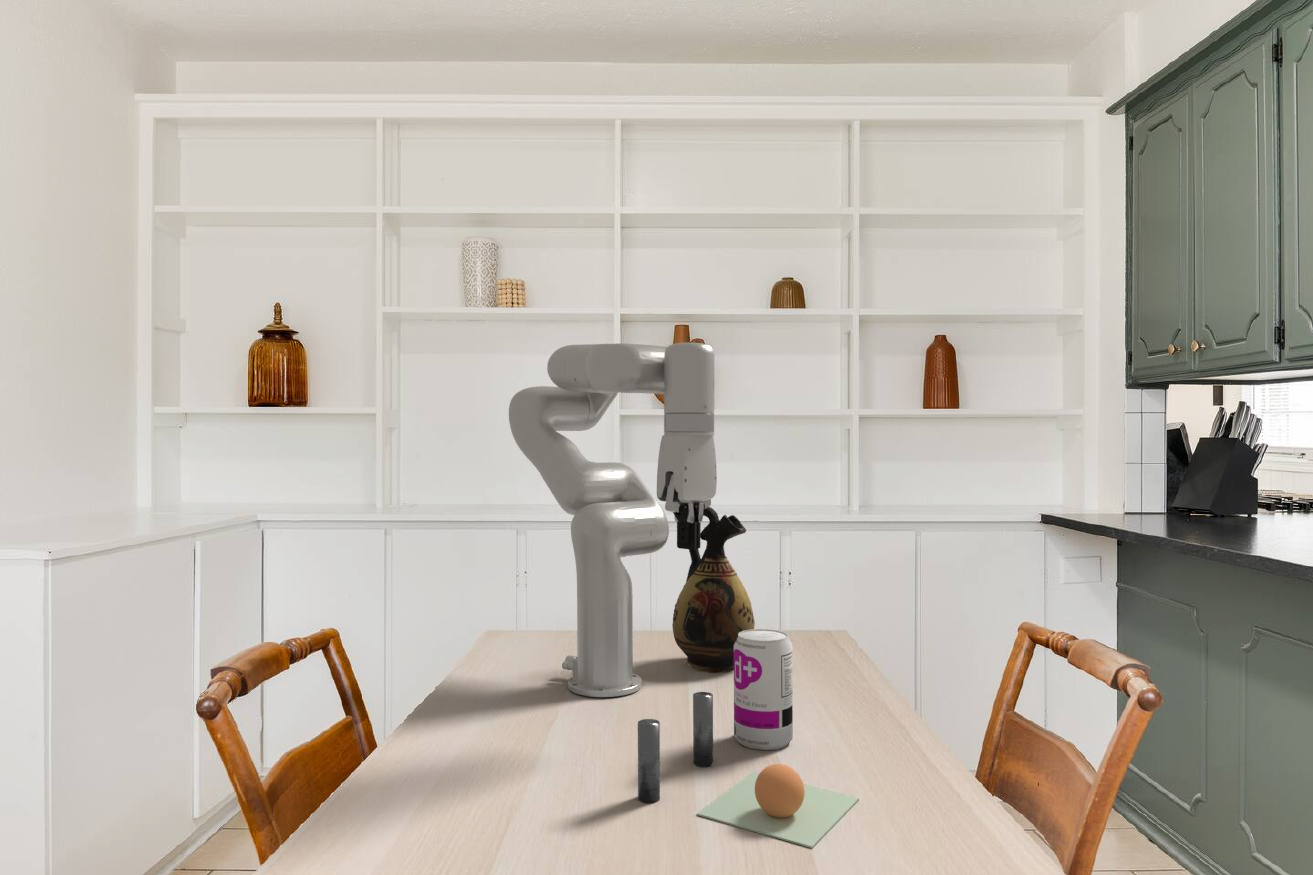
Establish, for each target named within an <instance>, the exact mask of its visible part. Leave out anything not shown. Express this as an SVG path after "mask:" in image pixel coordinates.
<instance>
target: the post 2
mask: <svg viewBox="0 0 1313 875" xmlns="http://www.w3.org/2000/svg"><path fill="white" fill-rule="evenodd" d="M713 710H714V694H713V693H711V692H707V691H696V692H694V693H693V694H692V745H693V746H692V748H693V749H692V751H693V752H692V755H693V756H692V758H693V760H692V761H693V762H692V764H693V765H694V766H696V767H699V768H709V767H711V766H713V765H714V711H713Z"/></svg>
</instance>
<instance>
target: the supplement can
mask: <svg viewBox="0 0 1313 875" xmlns="http://www.w3.org/2000/svg"><path fill="white" fill-rule="evenodd" d="M793 668H794V666H793V643H791V640H790V638H789V635H788V634H787V633H786V632H784V631H782V630H781V631H780V630H777V629H768V628H754V629H752V630H745V631H742V632H739V634H738V638H737V640H736V642H735V644H734V670H733V736H734V738H735V739H736V740H737V741H738V742H739V744H740V745H742V746H744V747H746V748H749V749H752V750H757V751H758V750H759V751H772V750H780V749H783V748H785V747H786V746H788V745H789V743H790V742H792V740H793V738H794V737H793V736H794V735H793V734H794V729H793V728H794V722H793V721H794V719H793V718H794V716H793V715H794V711H793V710H794V709H793V707H794V702H793V701H794V698H793V697H794V696H793V695H794V694H793V693H794V692H793V691H794V690H793V687H794V686H793V684H794V683H793V676H794V675H793V673H794V672H793Z"/></svg>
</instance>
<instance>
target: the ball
mask: <svg viewBox="0 0 1313 875" xmlns="http://www.w3.org/2000/svg"><path fill="white" fill-rule="evenodd" d="M759 773H760V774H759V775H758V777H757V779H756V782H755V796H756V799H757V802H758V804H759V805H760V807H761V808H762V809H763V810H764V811H765V812H766V813H767V814H769V815H771V816H774V817H779V818H784V817H788V816H791V815H793V814H794V813H795V812H797V811H798V809H799V808H800V807H801V805H802V803H803V800H804V793H805V791H804V785H803V784H804V782H803V779H802V778H801V776H800V774H799V773H798V772H797V771H796V770H795V769H793V768H792V767H790V766H788V765H786V764H783V763H782V764H780V763H776V764H770V765H768V766H767V767H764V769H762V770H761V771H760V772H759Z"/></svg>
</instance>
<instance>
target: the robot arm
mask: <svg viewBox="0 0 1313 875" xmlns="http://www.w3.org/2000/svg"><path fill="white" fill-rule="evenodd" d="M546 370H547V374H548V377H549V379H550V380H551V382H552V383H553V384H554V385H555V386H549V385H547V386H545V385H544V386H543V385H540V386H537V385H536V386H531V387H527V388H524V389H521V390H519V391H517V392H515V394H514V395H513V396H512V398H511V400H510V402H509V406H508V422H509V427H510V430H511V434H512V436H513V439H514V442H515V443H516V445H517V446H518V448H519V450H520V451H521V453H522V454H523V455H524V456H525V457H526V458H527V459H528V461H529V462H530V463H531V464H532V465H533V466H534V467H535V468H536V470H537V471H538V473H539V475H540V476H541V479H543V481H544V483H545V484H546V486H547V487H548V489H549V491H550V493H551V494H552V495H553V497H554V499H555V500H556V502H557V503H558V505H559V506H560V508H561V509H562V510H563V511H564V512H565V513H567V514H568V515H570V516H573V517H572V520H571V522H570V523H571V524H570V535H571V536H570V537H571V542H572V547H573V553H574V558H575V559H574V560H575V567H576V568H575V570H576V572H575V573H576V622H577V623H576V625H577V626H576V628H577V630H576V638H577V639H576V642H577V643H576V644H577V645H576V646H577V648H576V652H577V653H576V654H577V656H575V655H570V654H569V655H567V656H566V657H565V659H564V661H563V662H562V663H561V668H562V669H563V670H567V671H571V672H572V677H571V678H569V679H568V682H567V683H568V686H567V687H568V690H570V691H571V692H572V693H574V694H576V695H579V696H583V697H589V698H615V697H622V696H626V695H630V694H633V693H636V692H637V691H640V689H641V688H642V687H643V682H642V678H641V676H639V675H638V674H635V673H634V667H633V666H634V658H633V657H634V653H633V652H634V650H633V649H634V648H633V646H634V640H633V638H634V635H633V634H634V633H633V632H634V631H633V629H634V627H633V623H634V621H633V620H634V619H633V618H634V617H633V616H634V615H633V611H634V610H633V608H634V607H633V604H634V603H633V583H632V579H631V576H630V574H629V572H628V570H627V569H626V567H625V565H624V564H623V562H622V559H621V558H624V557H632V556H639V555H640V556H641V555H647V554H654V553H655V552H658V551H660V550H661V549H662V548H663V547H664V546H665V545H666V543H667V542H668V538H669V535H670V534H669V532H670V527H669V522H668V518H667V515H666V513H665V511H667V512H671V513H673V515H674V517H673V518H674V521H675V522H676V547H677V548H678V549H680V550H682V549H683V550H689V549H690V550H694V549H698V550H699V549H700V548H701V532H702V529H701V527H702V526H701V525H702V524H701V522H702V521H703V518H704V516H703V511H704V509H706V508H707V507H711V506H712V505H711V504H712V499H713V498H714V497H715V496H716V494H717V493H716V492H717V483H718V482H717V481H718V479H717V478H718V477H717V474H718V473H717V457H716V446H715V438H714V436H715V352H714V349H713V347H712V346H711V345H710V344H708V343H707V344H706V343H703V342H678V343H677V342H676V343H671V344H670V345H668V346H665V345H664V346H661V345H654V344H653V345H651V344H639V343H638V344H637V343H593V344H590V343H589V344H585V343H584V344H569V345H568V344H567V345H564V346H561V347H560V348H557V349H556V350H555V351H554V352H553V353H551V355H550V357H549V358H548V360H547V366H546ZM619 393H621V394H625V393H626V394H654V395H663V397H664V398H663V413H664V414H663V435H662V436H661V440H660V443H659V444H660V446H659V452H658V459H657V472H656V473H657V474H656V497H655V496H654V495H653V493H652V491H650V489H649V488H648V486H647V485H646V483H645V482H644V481H643V479H642V478H641V476H639V474H638V473H637V472H636V471H635V470H634V469H633V468H632V467H630V466H629V465H627V464H624V463H621V462H594V461H590V460H588V459H587V458H586V457H585V456H584V455H583V453H582V452H581V451H580V448H578V446H577V445H576V444H575V443H574V442H573V441H571V439H570V438H568V437H566V436H565V435H563V434H561V433H560V432H582V431H588V430H591V429H592V428H594V427H595V426H596V425H597V424H598V423H599V422H600V421H601V419H602V418H603V416H604V415H605V413H606V411H607V410H608V409H609V407H610V406H611V404H612V403H613V402H614V400H615V398H616V397H617V396H618V394H619ZM656 498H657V499H658V500H659V501H661V502H665V505H664V509H665V511H664V509H663V508H662V506H661V504H660V503H659V502H658V500H657V499H656Z"/></svg>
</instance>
